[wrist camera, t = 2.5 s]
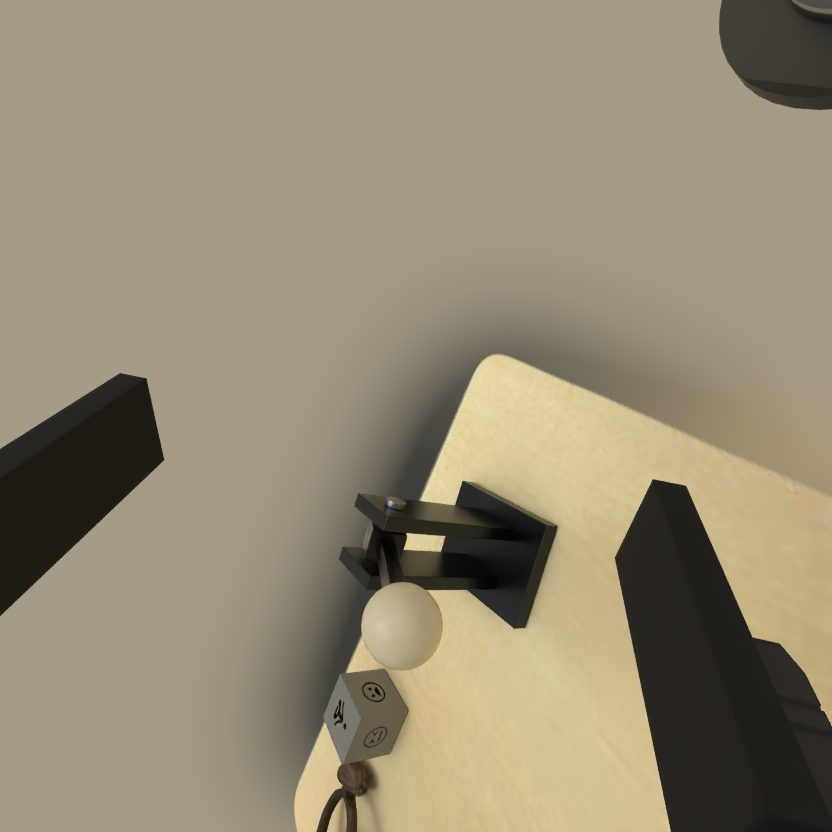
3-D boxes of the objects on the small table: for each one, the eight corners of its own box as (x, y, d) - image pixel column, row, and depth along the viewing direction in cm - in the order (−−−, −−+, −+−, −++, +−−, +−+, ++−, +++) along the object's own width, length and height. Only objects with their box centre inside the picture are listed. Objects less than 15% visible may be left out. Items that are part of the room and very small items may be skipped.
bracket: (557, 526, 35) (418, 510, 28) (525, 628, 36) (379, 638, 29) (472, 482, 44) (347, 461, 36) (446, 565, 44) (318, 561, 37)
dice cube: (384, 668, 48) (340, 673, 46) (408, 710, 44) (361, 718, 42) (367, 709, 49) (323, 717, 46) (389, 753, 45) (342, 764, 42)
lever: (461, 616, 21) (376, 597, 20) (436, 696, 21) (352, 680, 21) (415, 515, 35) (364, 502, 35) (400, 564, 35) (349, 552, 35)
